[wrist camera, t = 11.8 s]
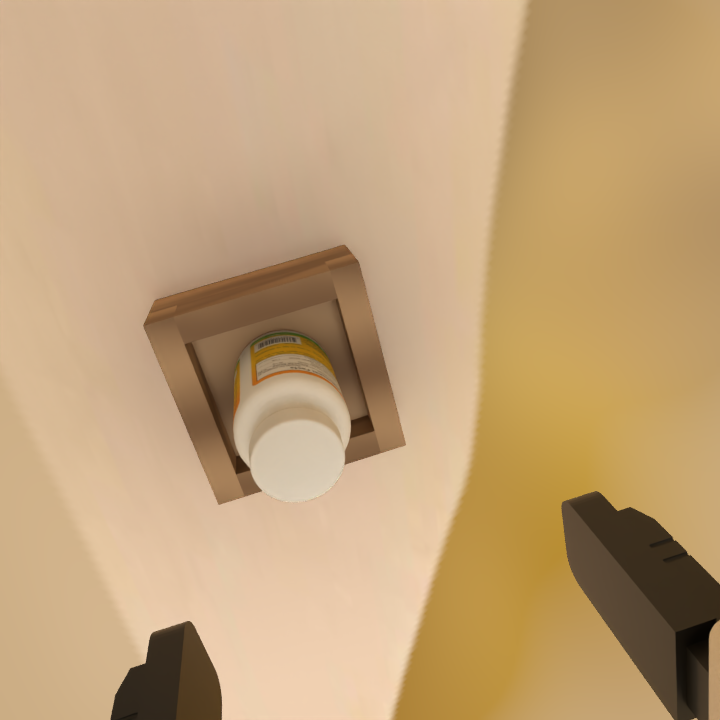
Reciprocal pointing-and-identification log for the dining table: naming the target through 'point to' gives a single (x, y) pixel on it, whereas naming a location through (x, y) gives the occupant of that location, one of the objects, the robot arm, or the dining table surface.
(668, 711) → the robot arm
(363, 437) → the wooden open box
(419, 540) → the dining table surface
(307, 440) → the supplement bottle
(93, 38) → the dining table surface
